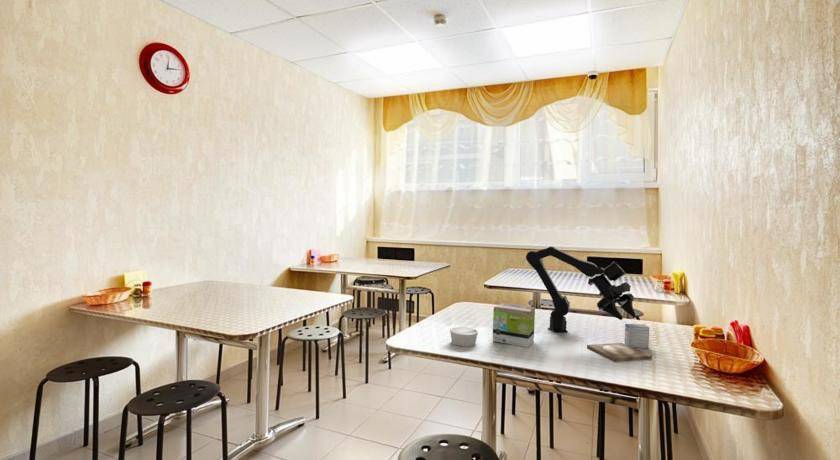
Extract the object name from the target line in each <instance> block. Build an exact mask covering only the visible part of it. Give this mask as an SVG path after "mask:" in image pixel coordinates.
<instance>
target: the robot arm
mask: <svg viewBox="0 0 840 460" xmlns="http://www.w3.org/2000/svg"><path fill="white" fill-rule="evenodd" d="M546 257H553V258H555V259H558V260H559V261H561V262H564V263H565V264H568V265H570V266H572V267H574V268H575V269H576V270H578V271H579V272H581V274H583V275H585V276H586V277H588V282H587V285H589V286H593V285H594V286H595V288H596V289H597V291H599V293H598V295H599V296H602V298H601V299H600V300H599V301H598V302H596V307H597V309H599V310H602V311H603V312H606V313H608V314H609V315H611V316H612V317H614V318H616V319H618V320H620V321H622V320H623V316H622V315H621V313H620V311H619V310H618V308H617V306H616V304H617V305H618V306H620V308H621V309H622V310H623V311H624V312H626V313H627V314H628V315H629V316H631V317H633V318H636V316H637V315H636V312H635V310H634V306H633V304H632V303H633V301H634V299H635V296H634V295H633V293H630V292H631V288H632V286H631V285H630V283H628V282H627V281H626V282H622V283H620V284H619V285H615V284H613V285H612V283H611V282H612V281H614V282H616V281H618V280H619V279H620V278H622V277H623V276H625V275H626V272H625V271H624V270H623V268H622V267H621V266H619V264H617V262H616V261H613V262H612V263H610V265H607V266H606V267H605V268H604V267H601V266H597V265H596V264H595V263H593V262H592V261H587V260H583V259H580V258H577V257H575V256H573V255H571V254H568V253H566V252H565V251H562V250H560V249H558V248H556V247H555V246H549V247H546V248H543V249H540V250H535V249H534V250H533V249H532V250H530V251H528V252H527V253H526V255H525V260H526V261H527V262H528V264H529V265H530V267H532V268H533V269H534V270H535V272H536V273H537V276H538V277H539V278H540V280H541V282H542V284H543V285H544V287H545V288H546V290H547V292H548V294H549V295H550V298H551V301H552V304H553V309H552V311H551V312H550V317H549V327H547V329H548V330H550V331H551V332H554V333H567V332H568V330H567V318H566V316H567V315H568V314H569V311H570V308H571V306H570V304H571V302H570V301H569V300H568V297H567V295H566V294H564V295H562V294H561V293H560V292H559V290H558V289H557V286H556V285H555V283H554V281H553V279H552V278H551V276H550V274H549V273H548V271H547V269H546V267H545V265H544V262H543V259H544V258H546ZM592 277H593V278H592ZM628 292H629V293H628ZM623 293H624V294H623Z"/></svg>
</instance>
